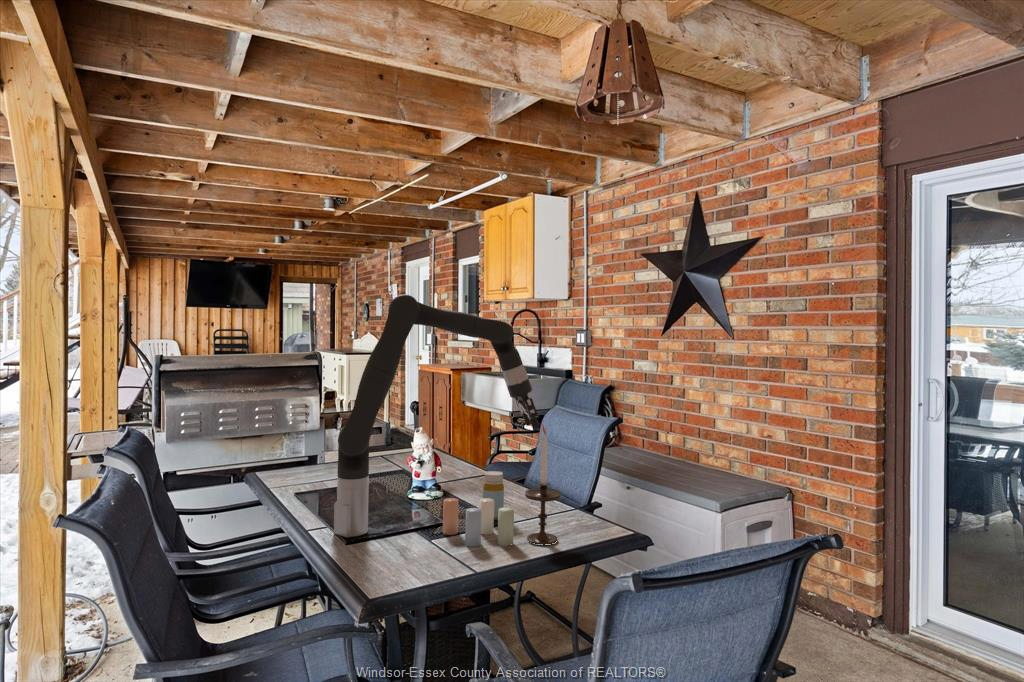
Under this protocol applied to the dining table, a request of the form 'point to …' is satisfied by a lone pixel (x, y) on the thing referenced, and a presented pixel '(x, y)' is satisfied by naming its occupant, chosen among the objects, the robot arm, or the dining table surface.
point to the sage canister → (505, 526)
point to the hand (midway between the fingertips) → (533, 426)
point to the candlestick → (543, 498)
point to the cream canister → (487, 515)
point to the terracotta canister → (450, 516)
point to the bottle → (494, 489)
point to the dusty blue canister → (473, 527)
